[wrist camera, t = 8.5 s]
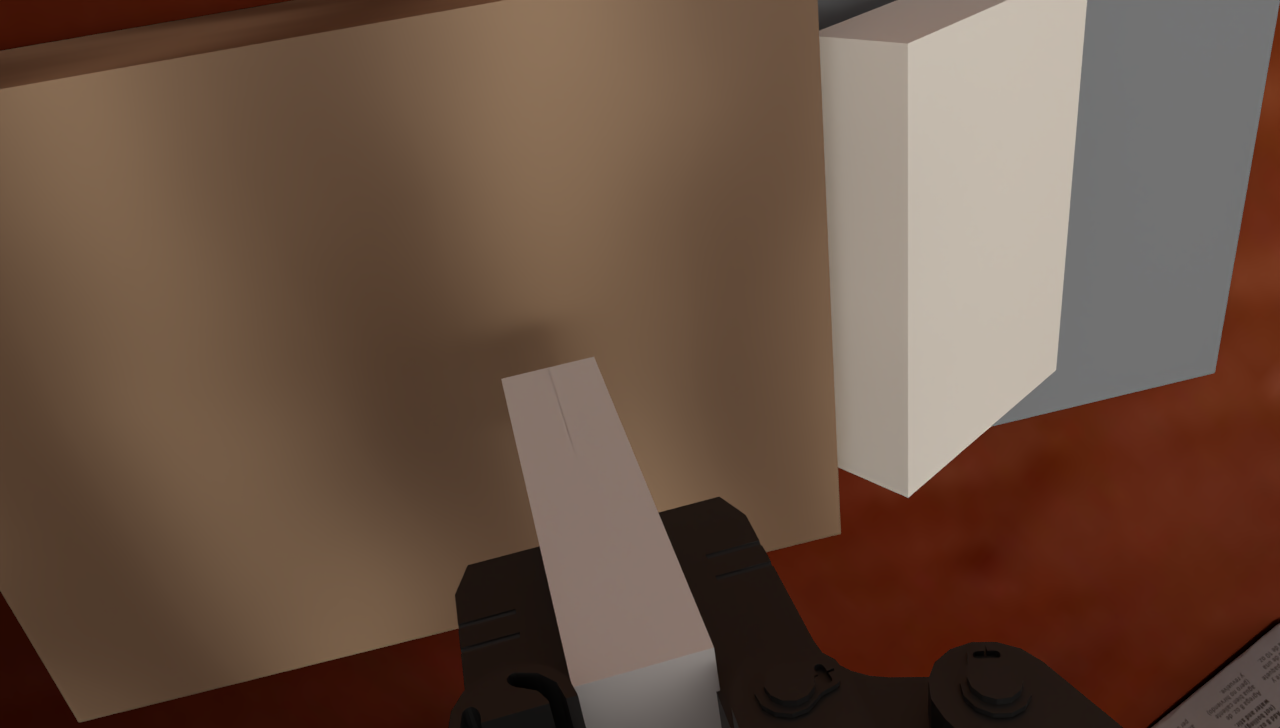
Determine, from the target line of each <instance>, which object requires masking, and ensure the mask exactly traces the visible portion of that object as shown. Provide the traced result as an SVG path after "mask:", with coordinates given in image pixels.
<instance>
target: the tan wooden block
mask: <svg viewBox="0 0 1280 728" xmlns="http://www.w3.org/2000/svg"><path fill="white" fill-rule="evenodd" d="M590 357H594V358H595V360H596V363H597V365H598V368H599V370H600V373H601V375H602V377H603V380H604V382H605V385H606V387H607V390H608V392H609V394H610V397H611V399H612V402H613V404H614V407H615V409H616V411H617V414H618V416H619V419H620V421H621V423H622V426H623V428H624V431H625V433H626V436H627V438H628V440H629V443H630V445H631V448H632V450H633V453H634V455H635V457H636V460H637V462H638V465H639V467H640V470H641V472H642V474H643V477H644V479H645V482H646V484H647V486H648V489H649V491H650V494H651V496H652V499H653V501H654V503H655V506H656V508H657V511H658V513H659V512H662V511H666V510H670V509H674V508H678V507H681V506H685V505H689V504H693V503H697V502H700V501H704V500H708V499H712V498H716V497H721V498H722V499H724V500H725V501H727V502H728V503H729V504H731V505H732V506H734V507H735V508H737V509H738V510H739V511H741V512H742V513H744V514H745V515H746V516H747V518H748V520H749V522H750V524H751V526H752V527H753V529H754V531H755V533H756V535H757V537H758V539H759V541H760V545H762V546H763V548H764V550H765V552H769V551H773V550H777V549H781V548H785V547H789V546H793V545H797V544H801V543H805V542H809V541H813V540H817V539H821V538H825V537H829V536H833V535H837V534H841V527H840V504H839V481H838V458H837V435H836V411H835V388H834V365H833V342H832V319H831V296H830V273H829V250H828V227H827V204H826V180H825V157H824V134H823V111H822V88H821V65H820V42H819V19H818V0H293V1H287V2H281V3H275V4H269V5H264V6H258V7H252V8H246V9H240V10H235V11H229V12H223V13H217V14H211V15H206V16H200V17H194V18H188V19H182V20H176V21H171V22H165V23H159V24H153V25H147V26H142V27H136V28H130V29H124V30H118V31H113V32H107V33H101V34H95V35H89V36H84V37H78V38H72V39H66V40H60V41H55V42H49V43H43V44H37V45H31V46H25V47H20V48H14V49H8V50H2V51H0V591H1V593H2V594H3V596H4V598H5V599H6V601H7V603H8V605H9V606H10V608H11V610H12V611H13V613H14V615H15V616H16V618H17V620H18V621H19V623H20V625H21V626H22V628H23V630H24V631H25V633H26V635H27V636H28V638H29V640H30V641H31V643H32V645H33V647H34V648H35V650H36V652H37V653H38V655H39V657H40V658H41V660H42V662H43V663H44V665H45V667H46V668H47V670H48V672H49V673H50V675H51V677H52V678H53V680H54V682H55V684H56V685H57V687H58V689H59V690H60V692H61V694H62V695H63V697H64V699H65V700H66V702H67V704H68V705H69V707H70V709H71V710H72V712H73V714H74V715H75V717H76V719H77V720H78V722H79V723H80V722H84V721H88V720H92V719H96V718H100V717H104V716H108V715H112V714H116V713H120V712H124V711H128V710H132V709H136V708H140V707H144V706H148V705H152V704H156V703H160V702H164V701H168V700H172V699H176V698H180V697H184V696H188V695H192V694H196V693H201V692H205V691H209V690H213V689H217V688H221V687H225V686H229V685H233V684H237V683H241V682H245V681H249V680H253V679H257V678H261V677H265V676H269V675H273V674H277V673H281V672H285V671H289V670H293V669H297V668H301V667H305V666H309V665H313V664H317V663H321V662H325V661H329V660H333V659H338V658H342V657H346V656H350V655H354V654H358V653H362V652H366V651H370V650H374V649H378V648H382V647H386V646H390V645H394V644H398V643H402V642H406V641H410V640H414V639H418V638H422V637H426V636H430V635H434V634H438V633H442V632H446V631H450V630H454V629H458V628H459V626H458V620H457V610H456V601H455V593H456V591H457V589H458V586H459V584H460V582H461V579H462V577H463V575H464V572H465V570H466V568H467V565H470V564H474V563H478V562H482V561H485V560H489V559H493V558H497V557H501V556H504V555H508V554H512V553H516V552H520V551H523V550H527V549H531V548H535V547H539V546H540V545H539V541H538V537H537V532H536V528H535V524H534V519H533V515H532V511H531V506H530V502H529V498H528V493H527V489H526V485H525V480H524V476H523V472H522V467H521V463H520V459H519V454H518V450H517V446H516V441H515V437H514V432H513V428H512V424H511V419H510V415H509V411H508V406H507V402H506V398H505V393H504V389H503V385H502V380H501V379H503V378H507V377H511V376H515V375H519V374H523V373H528V372H532V371H536V370H540V369H544V368H548V367H553V366H557V365H561V364H565V363H569V362H574V361H578V360H582V359H586V358H590Z"/></svg>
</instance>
